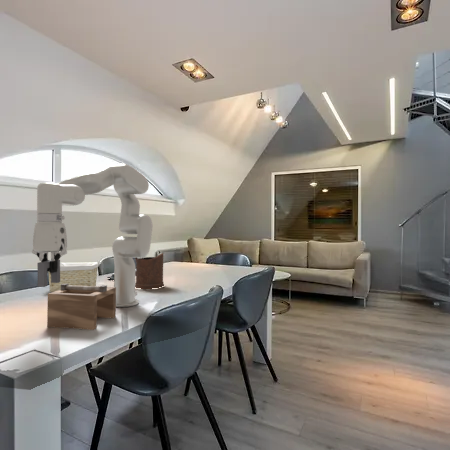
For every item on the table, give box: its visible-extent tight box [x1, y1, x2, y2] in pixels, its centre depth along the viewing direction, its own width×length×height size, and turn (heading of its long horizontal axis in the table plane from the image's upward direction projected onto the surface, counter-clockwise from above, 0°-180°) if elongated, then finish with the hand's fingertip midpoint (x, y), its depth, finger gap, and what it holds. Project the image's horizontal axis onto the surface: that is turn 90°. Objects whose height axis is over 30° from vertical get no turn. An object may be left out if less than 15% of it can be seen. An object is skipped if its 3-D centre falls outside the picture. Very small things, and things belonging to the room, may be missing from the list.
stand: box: [46, 284, 117, 331], centre depth 120 cm, size 16×18×14 cm
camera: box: [106, 273, 114, 281], centre depth 210 cm, size 5×10×4 cm, turn 47°
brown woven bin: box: [135, 252, 165, 289], centre depth 189 cm, size 18×24×25 cm
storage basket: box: [48, 261, 99, 293], centre depth 179 cm, size 24×16×15 cm
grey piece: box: [37, 259, 61, 288], centre depth 108 cm, size 8×2×8 cm, turn 172°
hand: (49, 271), depth 108 cm, fingers closed on grey piece, 2 cm apart
